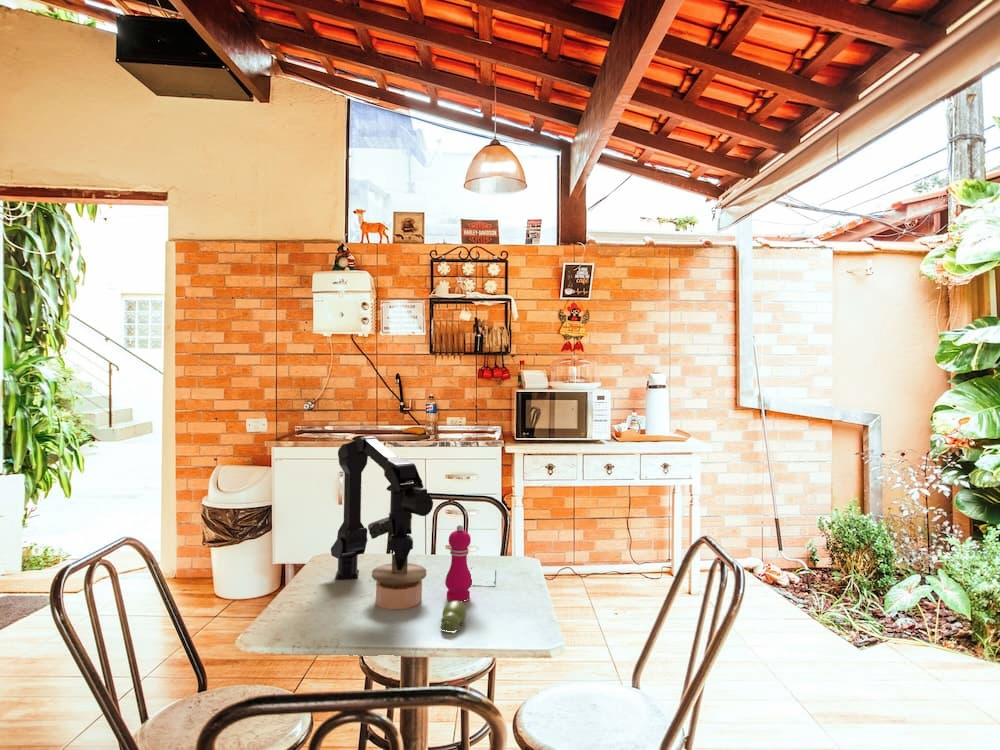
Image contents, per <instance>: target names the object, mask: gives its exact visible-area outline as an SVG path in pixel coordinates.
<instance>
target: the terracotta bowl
mask: <svg viewBox="0 0 1000 750" xmlns="http://www.w3.org/2000/svg"><path fill="white" fill-rule="evenodd" d="M422 580H423V579H422ZM422 580H420V581H417V582H413V583H407V584H387V583H382V582H378V581H376V585H375V588H376V589H375V605H377V606H379V607H380V608H383V609H388V610H389V609H390V610H406V609H409V607H410V608H413V606H414V607H417V606H418V605H419V604H421V603H422V600H423V599H422V597H423V596H422V594H423V581H422ZM420 602H421V603H420ZM417 604H418V605H417ZM416 605H417V606H416Z"/></svg>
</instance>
